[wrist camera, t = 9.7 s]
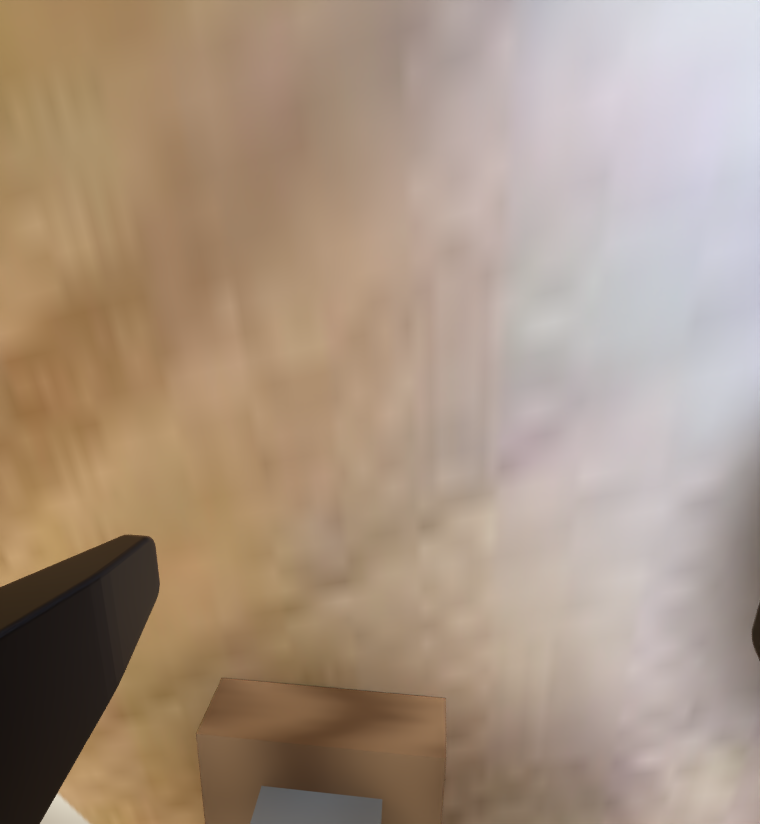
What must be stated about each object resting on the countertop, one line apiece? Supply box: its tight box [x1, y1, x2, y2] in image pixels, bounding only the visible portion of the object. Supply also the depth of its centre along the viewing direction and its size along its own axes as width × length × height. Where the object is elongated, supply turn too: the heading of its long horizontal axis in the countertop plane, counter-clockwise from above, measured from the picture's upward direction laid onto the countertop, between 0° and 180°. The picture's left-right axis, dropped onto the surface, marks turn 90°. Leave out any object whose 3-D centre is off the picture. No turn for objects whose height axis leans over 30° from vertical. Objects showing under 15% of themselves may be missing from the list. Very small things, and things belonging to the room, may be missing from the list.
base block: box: [196, 678, 446, 824], centre depth 27 cm, size 10×10×3 cm
